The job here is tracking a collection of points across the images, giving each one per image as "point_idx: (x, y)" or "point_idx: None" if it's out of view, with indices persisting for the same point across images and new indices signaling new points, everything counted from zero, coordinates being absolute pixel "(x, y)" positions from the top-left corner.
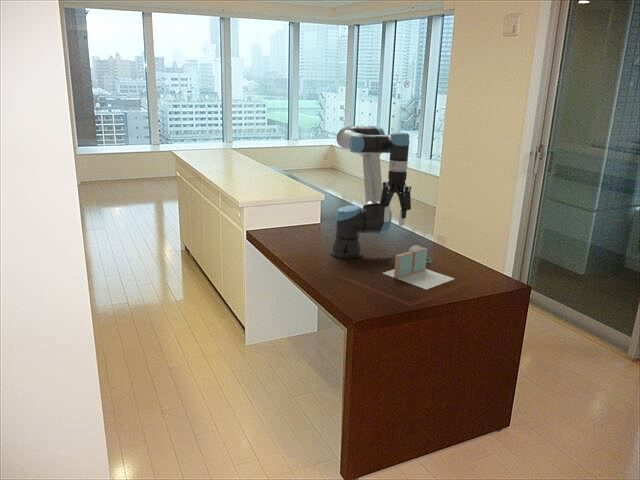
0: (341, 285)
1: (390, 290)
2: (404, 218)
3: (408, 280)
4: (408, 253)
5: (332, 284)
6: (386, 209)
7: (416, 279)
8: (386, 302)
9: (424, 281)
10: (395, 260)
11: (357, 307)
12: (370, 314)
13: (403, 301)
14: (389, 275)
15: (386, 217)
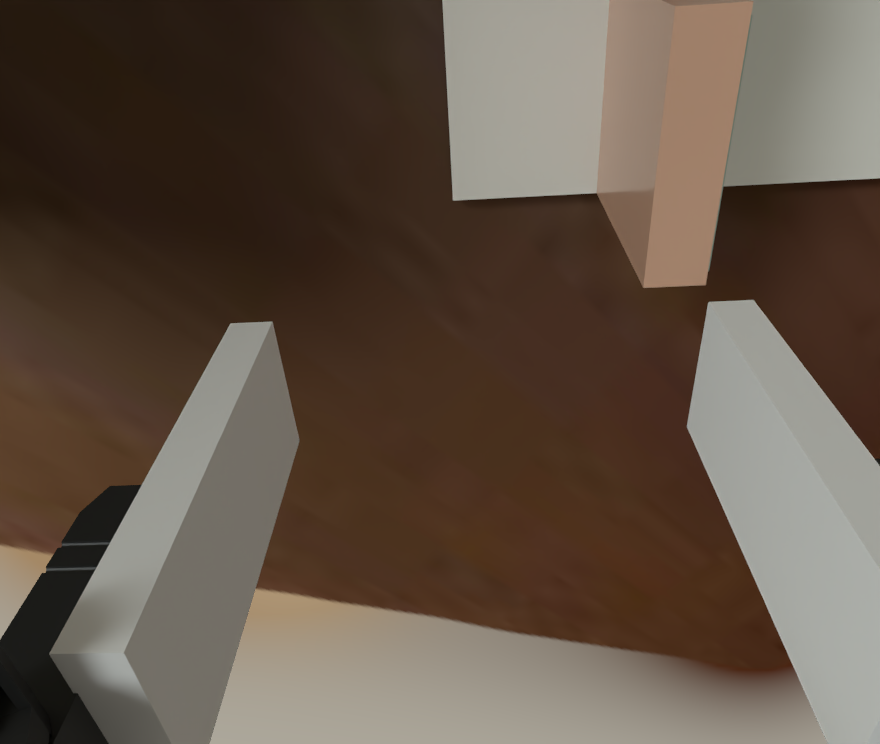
0: (433, 510)
1: None
2: (831, 414)
3: (734, 139)
4: (722, 99)
5: (391, 534)
6: (211, 698)
7: (781, 50)
8: None
9: (873, 23)
10: (633, 260)
11: (704, 606)
12: None
13: (870, 408)
14: (537, 189)
15: (272, 486)
